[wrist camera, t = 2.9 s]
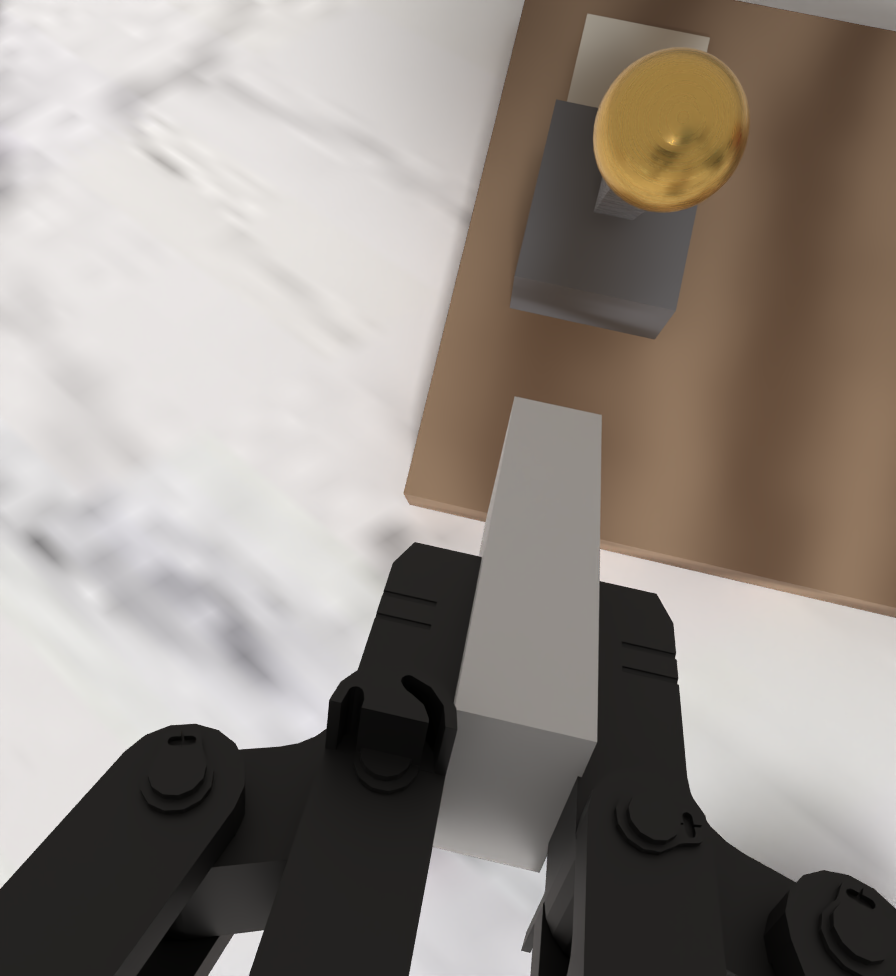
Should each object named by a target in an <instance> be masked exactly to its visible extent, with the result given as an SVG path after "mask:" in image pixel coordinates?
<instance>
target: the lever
mask: <svg viewBox="0 0 896 976" xmlns="http://www.w3.org/2000/svg"><path fill="white" fill-rule="evenodd" d="M749 127H750V112H749V106H748V101H747V98H746V94H745V91H744V89H743V87H742V85H741V83H740V81H739V80H738V78H737V76H736V75H735V74H734V72H733V71H732V70H731V69H730V68H729V67H728V66H727V65H726V64H725V63H724V62H722V61H721V60H720V59H718V58H717V57H715V56H713V55H712V54H709V53H707V52H705V51H702V50H698V49H695V48H688V47H672V48H665V49H661V50H658V51H654V52H652V53H650V54H647V55H645V56H643V57H641V58H640V59H638V60H636V61H635V62H633V63H632V64H630V65H629V66H628V67H627V68H625V69H624V70H623V71H622V72H621V73H620V74H619V75H618V76H617V77H616V79H615V80H614V81H613V83H612V84H611V85H610V87H609V88H608V90H607V92H606V93H605V95H604V97H603V99H602V101H601V103H600V105H599V108H598V111H597V114H596V118H595V123H594V131H593V147H594V154H595V159H596V163H597V166H598V169H599V171H600V173H601V175H602V180H601V184H600V189H599V193H598V197H597V201H596V205H595V209H594V212H596V213H601V214H606V215H611V216H615V217H620V218H625V219H630V220H634V219H635V218H637V217H638V216H639V215H640V214H642V213H643V212H644V211H645V210H646V211H650V212H657V213H667V212H675V211H680V210H684V209H687V208H690V207H693V206H695V205H697V204H699V203H701V202H703V201H705V200H706V199H708V198H709V197H710V196H712V195H713V194H715V193H716V192H717V191H718V190H719V189H720V188H721V187H722V186H723V185H724V184H725V183H726V182H727V181H728V179H729V178H730V177H731V176H732V174H733V173H734V171H735V170H736V168H737V167H738V165H739V163H740V161H741V158H742V156H743V154H744V151H745V148H746V145H747V140H748V136H749Z"/></svg>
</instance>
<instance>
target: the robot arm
mask: <svg viewBox="0 0 896 976" xmlns="http://www.w3.org/2000/svg"><path fill="white" fill-rule="evenodd" d="M601 433H602V415H599V414H595V413H590V412H585V411H581V410H576V409H571V408H567V407H562V406H557V405H553V404H548V403H543V402H539V401H534V400H529V399H525V398H520V397H514V401H513V406H512V410H511V414H510V419H509V423H508V427H507V432H506V436H505V440H504V444H503V449H502V453H501V457H500V462H499V466H498V470H497V475H496V479H495V483H494V488H493V492H492V496H491V501H490V505H489V509H488V513H487V518H486V523H485V528H484V533H483V538H482V543H481V548H480V553H479V556H474V555H470V554H466V553H461V552H457V551H452V550H448V549H443V548H439V547H434V546H430V545H425V544H421V543H416V542H415V543H413V544H412V545H411V546H410V547H409V548H408V549H407V550H406V551H405V552H404V553H403V554H402V555H401V556H400V557H399V558H398V559H396V560H395V561H394V562H393V564H392V567H391V571H390V574H389V577H388V580H387V583H386V586H385V589H384V593H383V595H382V598H381V601H380V604H379V607H378V610H377V614H376V618H375V619H374V622H373V625H372V628H371V631H370V634H369V637H368V640H367V643H366V646H365V650H364V653H363V656H362V659H361V662H360V665H359V668H358V670H357V671H356V672H354V673H353V674H351V675H350V676H348V677H347V678H345V679H344V680H342V681H341V682H340V684H339V685H338V687H337V689H336V690H335V692H334V693H333V695H332V697H331V698H330V700H329V709H328V720H327V729H326V730H324V731H323V732H321V733H320V734H318V735H317V736H315V737H313V738H310V739H308V740H305V741H303V742H301V743H298V744H292V745H286V746H281V747H269V748H255V749H242V750H238V748H237V746H236V744H235V743H234V742H233V741H232V740H230V739H229V738H228V737H226V736H225V735H224V734H223V733H221V732H220V731H219V730H216V729H212V728H209V727H205V726H202V725H198V724H185V725H170V726H168V727H165V728H162V729H160V730H157V731H155V732H152V733H150V734H147V735H145V736H144V737H142V738H141V739H140V740H139V741H137V742H136V743H135V744H134V745H132V746H131V747H130V748H129V749H127V750H126V751H125V752H124V753H123V754H122V755H121V756H120V757H119V758H118V760H117V761H116V762H115V763H114V764H113V765H112V766H111V767H110V768H109V769H108V771H107V772H106V773H105V774H104V775H103V776H102V777H101V778H100V779H99V780H98V782H97V783H96V784H95V785H94V786H93V787H92V788H91V789H90V790H89V792H88V793H87V794H86V795H85V796H84V797H83V798H82V799H81V800H80V801H79V803H78V804H77V805H76V806H75V807H74V808H73V809H72V810H71V811H70V813H69V814H68V815H67V816H66V817H65V818H64V819H63V820H62V821H61V822H60V824H59V825H58V826H57V827H56V828H55V829H54V830H53V831H52V832H51V833H50V835H49V836H48V837H47V838H46V839H45V840H44V841H43V842H42V843H41V845H40V846H39V847H38V848H37V849H36V850H35V851H34V852H33V853H32V854H31V856H30V857H29V858H28V859H27V860H26V861H25V862H24V863H23V864H22V866H21V867H20V868H19V869H18V870H17V871H16V872H15V873H14V874H13V875H12V877H11V878H10V879H9V880H8V881H7V882H6V883H5V884H4V885H3V887H2V888H1V889H0V976H208V975H209V973H210V971H211V970H212V968H213V967H214V965H215V963H216V962H217V960H218V959H219V957H220V955H221V954H222V952H223V951H224V949H225V947H226V946H227V944H228V943H229V941H230V939H231V938H232V936H233V935H234V934H237V933H245V932H253V931H261V930H264V932H263V935H262V938H261V941H260V944H259V947H258V950H257V953H256V956H255V959H254V962H253V965H252V968H251V971H250V974H249V976H409V971H410V966H411V960H412V955H413V950H414V944H415V939H416V933H417V928H418V923H419V917H420V912H421V906H422V901H423V895H424V890H425V885H426V879H427V874H428V868H429V863H430V858H431V852H432V847H434V848H439V849H443V850H447V851H451V852H455V853H459V854H464V855H468V856H472V857H476V858H480V859H485V860H489V861H493V862H497V863H501V864H505V865H510V866H514V867H518V868H522V869H526V870H531V871H535V872H539V873H540V870H541V868H542V866H543V863H544V861H545V859H546V857H547V871H546V886H545V893H544V895H543V898H542V900H541V902H540V904H539V906H538V908H537V911H536V913H535V915H534V917H533V919H532V921H531V923H530V926H529V928H528V930H527V932H526V936H525V939H524V943H523V946H522V950H521V951H525V952H529V953H530V952H531V950H532V948H533V950H532V963H531V976H896V909H895V908H894V907H893V906H892V905H891V904H890V903H889V902H888V901H887V900H886V899H884V898H883V897H882V896H881V895H880V894H879V893H878V892H877V891H876V890H875V889H873V888H871V887H869V886H868V885H866V884H864V883H862V882H860V881H858V880H857V879H855V878H853V877H851V876H849V875H846V874H840V873H835V872H830V871H825V870H823V871H819V872H814V873H810V874H806V875H803V876H802V877H801V878H800V879H799V880H798V881H797V882H794V881H792V880H790V879H788V878H787V877H785V876H783V875H781V874H780V873H778V872H776V871H774V870H772V869H771V868H769V867H767V866H765V865H763V864H762V863H760V862H758V861H756V860H754V859H753V858H751V857H749V856H747V855H745V854H744V853H742V852H741V851H739V850H738V849H736V848H735V847H733V846H732V845H730V844H729V843H728V842H726V841H725V840H724V839H723V838H722V837H721V836H720V835H719V834H718V833H717V832H716V831H715V830H714V829H713V828H712V827H711V826H710V825H709V824H708V822H707V820H706V817H705V815H704V813H703V812H702V810H701V809H700V808H699V806H698V805H697V803H696V802H695V800H694V799H693V797H692V795H691V792H690V788H689V783H688V779H687V771H686V759H685V748H684V737H683V726H682V715H681V704H680V693H679V685H677V681H678V670H677V660H676V659H675V655H676V648H675V637H674V626H673V622H672V620H671V618H670V617H669V615H668V613H667V611H666V610H665V608H664V606H663V604H662V603H661V601H660V599H659V597H658V596H657V594H655V593H650V592H646V591H641V590H637V589H632V588H628V587H623V586H619V585H614V584H610V583H605V582H601V581H599V575H600V504H601ZM547 854H548V855H547Z"/></svg>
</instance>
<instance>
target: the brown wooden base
mask: <svg viewBox="0 0 896 976" xmlns="http://www.w3.org/2000/svg"><path fill="white" fill-rule="evenodd" d="M672 47H688V48H695V49H698V50H702V51H705V52H707V53H709V54H712V55H713V56H715V57H717V58H718V59H720V60H721V61H722V62H724V63H725V64H726V65H727V66H728V67H729V68H730V69H731V70H732V71H733V72H734V74H735V75H736V76H737V78H738V80H739V81H740V83H741V85H742V87H743V89H744V91H745V94H746V98H747V101H748V106H749V112H750V127H749V136H748V140H747V145H746V148H745V151H744V154H743V156H742V158H741V161H740V163H739V165H738V167H737V168H736V170H735V171H734V173H733V174H732V176H731V177H730V178H729V179H728V181H727V182H726V183H725V184H724V185H723V186H722V187H721V188H720V189H719V190H718V191H717V192H716V193H715V194H713V195H712V196H710V197H709V198H708V199H706V200H705V201H703V202H701V203H699V204H697V205H695V206H693V207H690V208H687V209H684V210H680V211H675V212H667V213H657V212H650V211H646V210H645V211H644V212H643V213H642V214H640V215H639V216H638V217H637V218H635V219H634V220H630V219H625V218H620V217H615V216H611V215H606V214H601V213H596V212H594V209H595V205H596V201H597V197H598V193H599V189H600V184H601V180H602V175H601V173H600V171H599V169H598V166H597V163H596V159H595V154H594V147H593V131H594V123H595V118H596V114H597V111H598V108H599V105H600V103H601V101H602V99H603V97H604V95H605V93H606V92H607V90H608V88H609V87H610V85H611V84H612V83H613V81H614V80H615V79H616V77H617V76H618V75H619V74H620V73H621V72H622V71H623V70H624V69H625V68H627V67H628V66H629V65H630V64H632V63H633V62H635V61H636V60H638V59H640V58H641V57H643V56H645V55H647V54H650V53H652V52H654V51H658V50H661V49H665V48H672ZM514 397H520V398H525V399H529V400H534V401H539V402H543V403H548V404H553V405H557V406H562V407H567V408H571V409H576V410H581V411H585V412H590V413H595V414H599V415H602V433H601V504H600V549H603V550H607V551H612V552H616V553H620V554H625V555H629V556H633V557H637V558H642V559H646V560H650V561H655V562H659V563H663V564H668V565H672V566H676V567H680V568H685V569H689V570H693V571H698V572H702V573H706V574H710V575H715V576H719V577H723V578H728V579H732V580H736V581H740V582H745V583H749V584H753V585H758V586H762V587H766V588H771V589H775V590H779V591H783V592H788V593H792V594H796V595H801V596H805V597H809V598H813V599H818V600H822V601H826V602H831V603H835V604H839V605H843V606H848V607H852V608H856V609H861V610H865V611H869V612H873V613H878V614H882V615H886V616H891V617H895V618H896V32H895V31H890V30H885V29H880V28H875V27H870V26H865V25H859V24H854V23H849V22H844V21H839V20H834V19H829V18H823V17H818V16H813V15H808V14H803V13H798V12H793V11H787V10H782V9H777V8H772V7H767V6H762V5H757V4H751V3H746V2H741V1H736V0H525V2H524V6H523V10H522V14H521V18H520V22H519V26H518V31H517V35H516V39H515V43H514V47H513V51H512V55H511V59H510V63H509V67H508V71H507V75H506V79H505V83H504V87H503V91H502V96H501V100H500V104H499V108H498V112H497V116H496V120H495V124H494V128H493V132H492V136H491V140H490V144H489V148H488V152H487V156H486V161H485V165H484V169H483V173H482V177H481V181H480V185H479V189H478V193H477V197H476V201H475V205H474V209H473V213H472V217H471V222H470V226H469V230H468V234H467V238H466V242H465V246H464V250H463V254H462V258H461V262H460V266H459V270H458V274H457V278H456V282H455V287H454V291H453V295H452V299H451V303H450V307H449V311H448V315H447V319H446V323H445V327H444V331H443V335H442V339H441V343H440V347H439V352H438V356H437V360H436V364H435V368H434V372H433V376H432V380H431V384H430V388H429V392H428V396H427V400H426V404H425V408H424V412H423V417H422V421H421V425H420V429H419V433H418V437H417V441H416V445H415V449H414V453H413V457H412V461H411V465H410V469H409V473H408V477H407V482H406V486H405V490H404V495H405V497H406V499H407V500H408V502H409V504H410V505H414V506H419V507H423V508H427V509H432V510H436V511H440V512H444V513H449V514H453V515H457V516H462V517H466V518H470V519H474V520H479V521H483V522H486V518H487V513H488V509H489V505H490V501H491V496H492V492H493V488H494V483H495V479H496V475H497V470H498V466H499V462H500V457H501V453H502V449H503V444H504V440H505V436H506V432H507V427H508V423H509V419H510V414H511V410H512V406H513V401H514Z"/></svg>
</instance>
